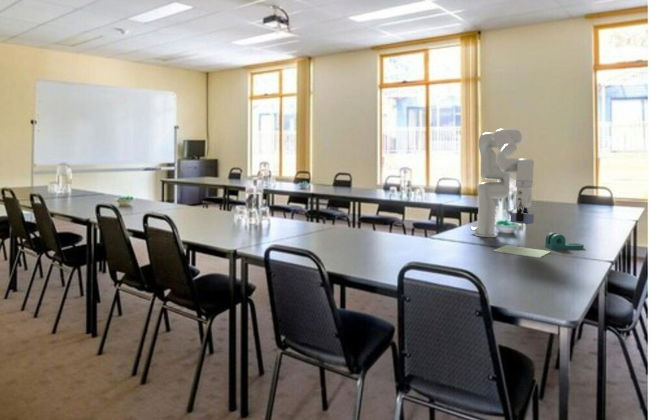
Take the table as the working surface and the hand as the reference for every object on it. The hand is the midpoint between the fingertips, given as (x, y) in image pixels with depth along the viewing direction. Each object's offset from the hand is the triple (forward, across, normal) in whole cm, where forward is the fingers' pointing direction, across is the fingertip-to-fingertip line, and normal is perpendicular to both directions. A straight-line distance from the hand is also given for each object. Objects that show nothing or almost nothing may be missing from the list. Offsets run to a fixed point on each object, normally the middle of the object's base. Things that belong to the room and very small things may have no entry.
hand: (522, 220), depth 232 cm
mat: (+16, 0, -1) cm, 16 cm away
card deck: (+1, 0, 0) cm, 1 cm away
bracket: (+16, +25, -14) cm, 33 cm away
